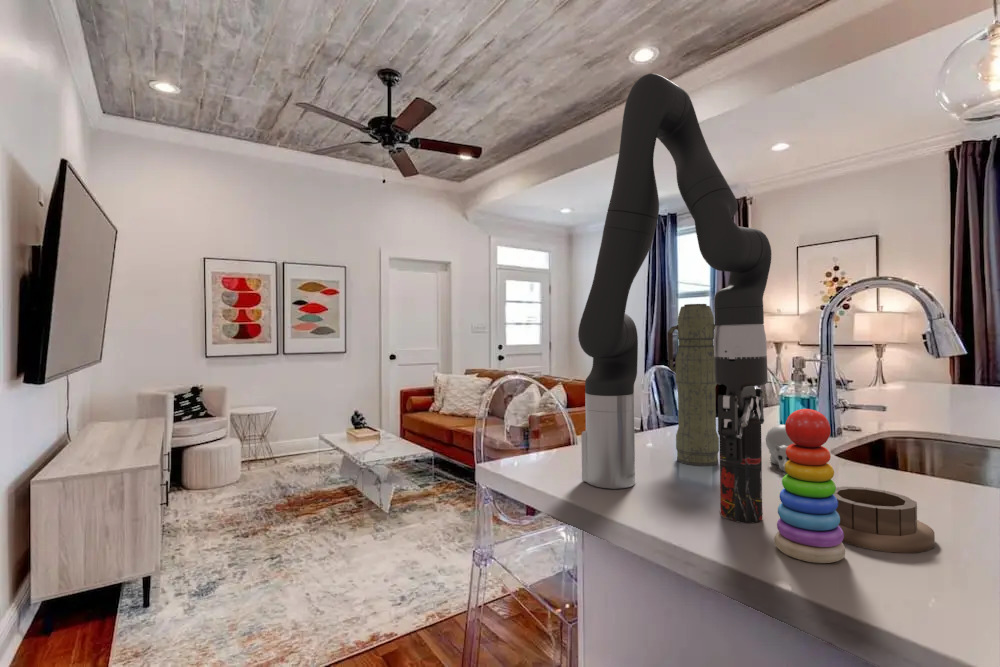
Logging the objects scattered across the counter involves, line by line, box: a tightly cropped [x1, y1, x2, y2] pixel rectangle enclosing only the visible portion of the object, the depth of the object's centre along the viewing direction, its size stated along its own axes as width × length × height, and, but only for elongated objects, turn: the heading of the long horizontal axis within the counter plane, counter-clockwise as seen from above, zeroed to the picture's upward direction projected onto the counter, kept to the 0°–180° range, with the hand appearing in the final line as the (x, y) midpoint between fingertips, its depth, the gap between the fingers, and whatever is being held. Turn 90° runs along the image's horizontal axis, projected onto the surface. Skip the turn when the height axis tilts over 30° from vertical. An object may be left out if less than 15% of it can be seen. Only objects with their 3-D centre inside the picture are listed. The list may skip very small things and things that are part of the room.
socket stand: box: [833, 486, 936, 554], centre depth 74 cm, size 14×14×5 cm
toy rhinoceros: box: [765, 424, 795, 473], centre depth 110 cm, size 7×12×8 cm, turn 150°
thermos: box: [667, 303, 720, 467], centre depth 116 cm, size 9×12×35 cm
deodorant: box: [718, 418, 763, 524], centre depth 81 cm, size 6×6×15 cm
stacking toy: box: [774, 408, 847, 564], centre depth 68 cm, size 8×8×19 cm
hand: (743, 457), depth 81 cm, fingers open, 8 cm apart
